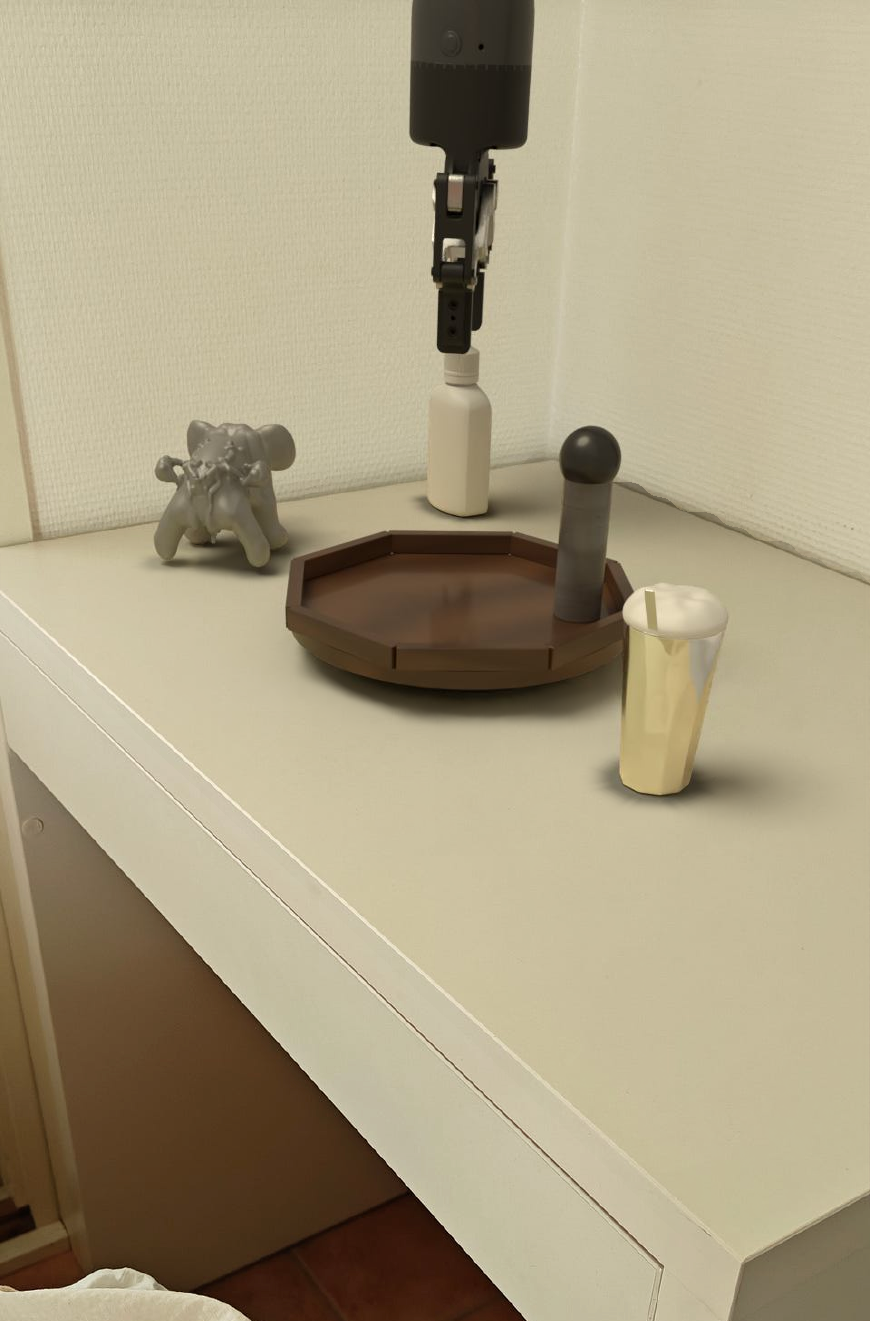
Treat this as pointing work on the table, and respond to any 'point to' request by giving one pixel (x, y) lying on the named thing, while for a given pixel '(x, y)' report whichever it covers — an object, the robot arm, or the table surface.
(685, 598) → the milkshake
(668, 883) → the table surface
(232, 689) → the table surface
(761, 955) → the table surface
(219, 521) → the gray elephant figurine
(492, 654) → the tray
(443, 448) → the eye dropper bottle
